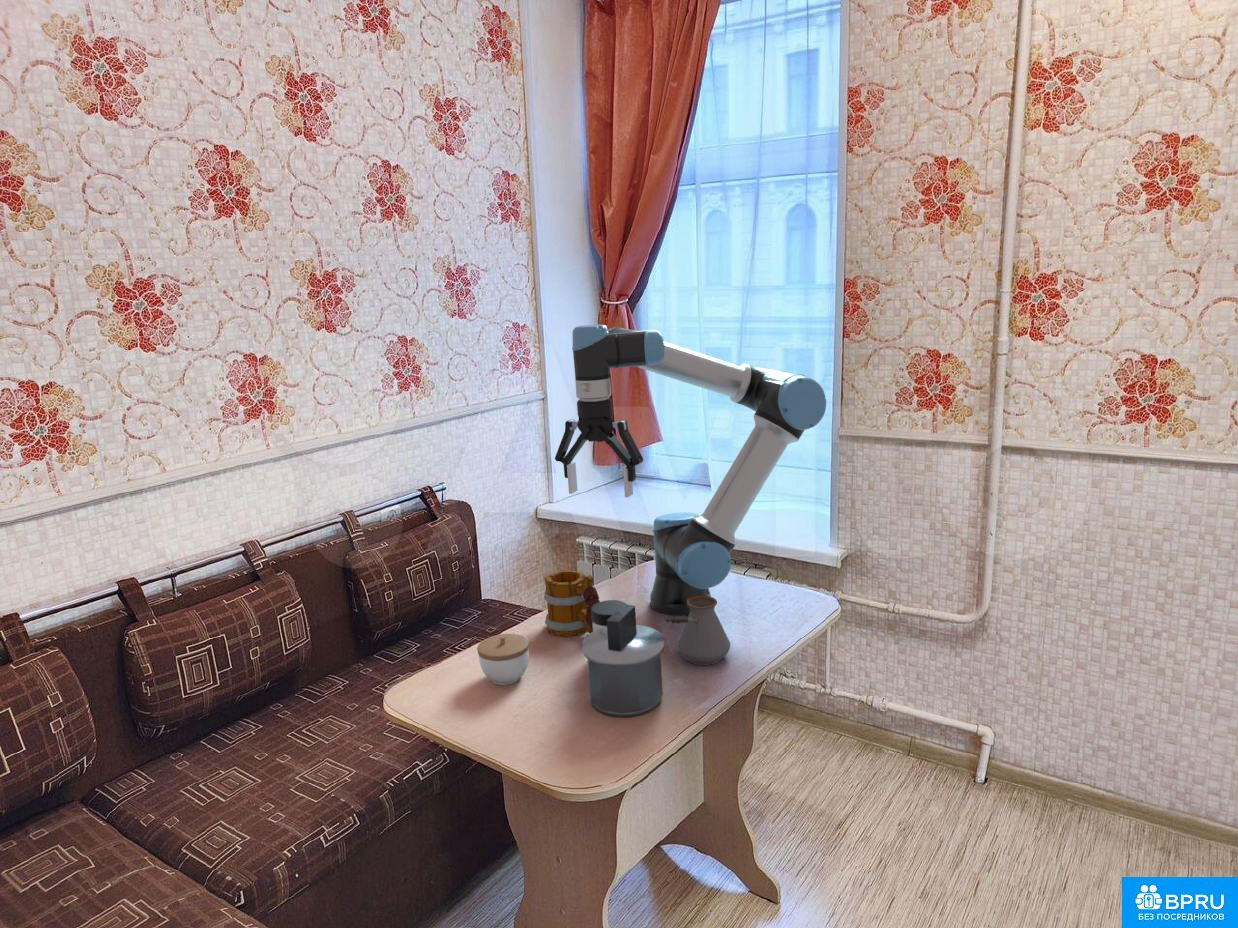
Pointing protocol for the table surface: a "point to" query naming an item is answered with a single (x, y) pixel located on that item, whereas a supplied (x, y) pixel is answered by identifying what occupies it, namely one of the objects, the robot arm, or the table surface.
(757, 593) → the table surface
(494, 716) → the table surface
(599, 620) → the jar
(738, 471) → the robot arm
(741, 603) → the table surface
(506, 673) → the lidded jar
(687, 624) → the coffee pot
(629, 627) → the lid
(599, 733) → the table surface
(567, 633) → the mug
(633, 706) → the pot
